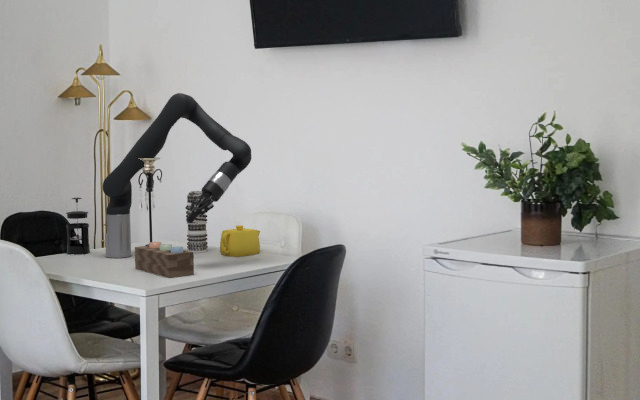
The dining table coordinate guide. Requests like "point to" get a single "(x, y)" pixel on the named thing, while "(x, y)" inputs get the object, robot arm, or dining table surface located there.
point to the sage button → (165, 247)
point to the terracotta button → (154, 244)
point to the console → (164, 262)
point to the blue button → (176, 249)
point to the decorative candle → (196, 227)
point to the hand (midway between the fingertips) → (188, 221)
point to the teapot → (239, 242)
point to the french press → (73, 247)
